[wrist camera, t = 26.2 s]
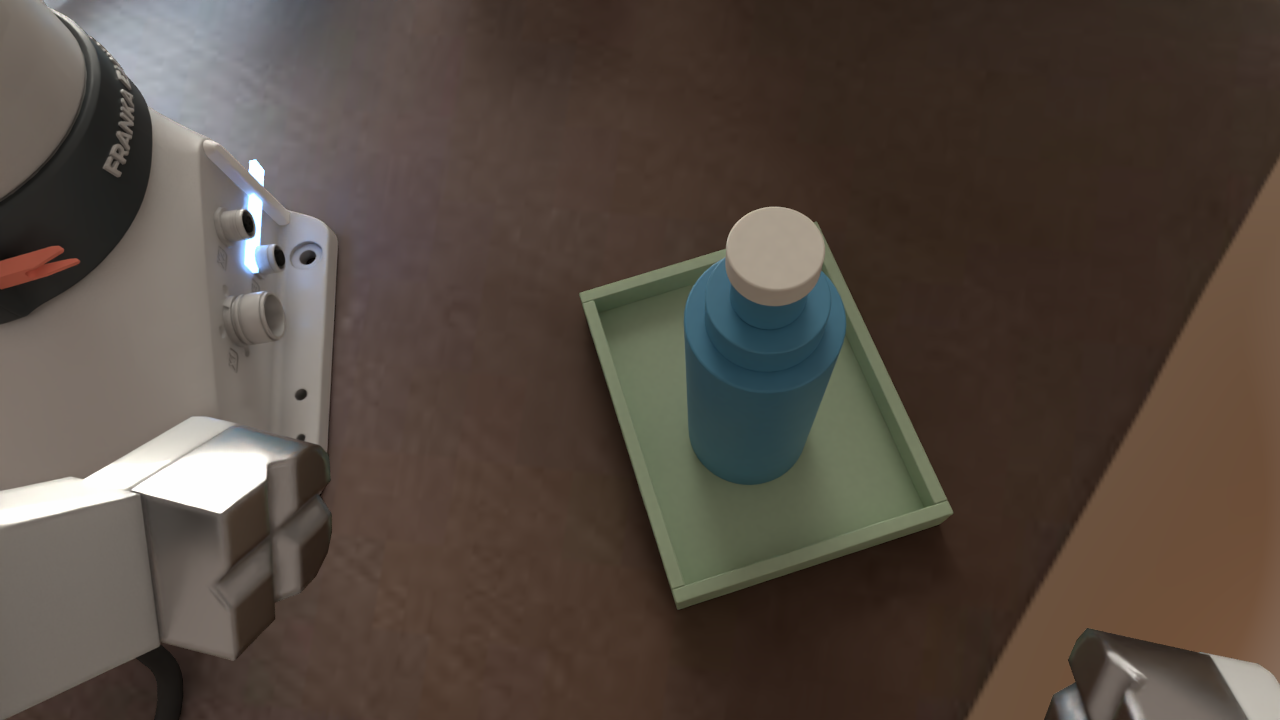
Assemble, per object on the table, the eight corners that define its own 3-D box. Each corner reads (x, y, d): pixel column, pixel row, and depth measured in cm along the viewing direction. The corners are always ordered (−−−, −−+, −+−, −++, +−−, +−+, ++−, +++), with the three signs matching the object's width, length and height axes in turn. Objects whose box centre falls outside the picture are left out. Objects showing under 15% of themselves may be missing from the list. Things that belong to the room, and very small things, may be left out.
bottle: (741, 509, 37) (767, 370, 22) (664, 421, 39) (642, 238, 24) (831, 435, 38) (913, 256, 23) (752, 352, 40) (782, 138, 25)
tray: (941, 524, 36) (954, 513, 35) (677, 610, 36) (675, 603, 34) (811, 243, 43) (817, 220, 41) (584, 312, 42) (578, 292, 40)
